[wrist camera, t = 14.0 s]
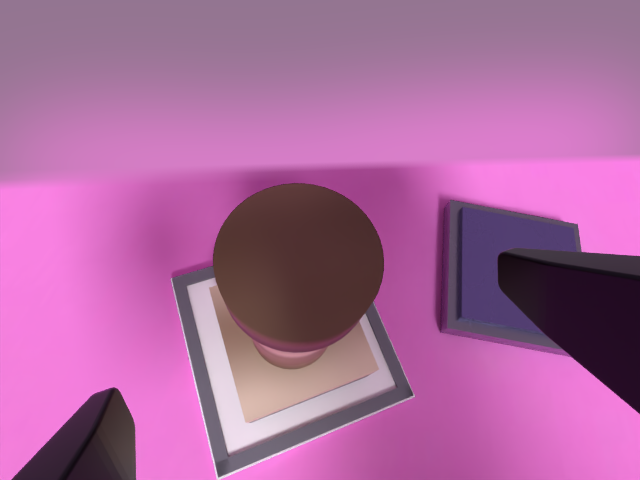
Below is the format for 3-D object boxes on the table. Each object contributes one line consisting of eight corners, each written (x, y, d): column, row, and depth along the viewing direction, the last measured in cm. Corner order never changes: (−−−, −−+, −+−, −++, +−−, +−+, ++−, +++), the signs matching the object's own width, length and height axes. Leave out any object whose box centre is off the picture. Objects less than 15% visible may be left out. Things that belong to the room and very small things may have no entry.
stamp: (365, 376, 20) (454, 325, 10) (250, 423, 19) (213, 419, 8) (323, 271, 22) (360, 140, 12) (218, 305, 21) (158, 190, 11)
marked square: (413, 397, 20) (416, 396, 20) (218, 479, 18) (216, 481, 17) (340, 229, 24) (341, 226, 23) (171, 280, 21) (169, 277, 21)
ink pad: (582, 358, 22) (601, 354, 20) (440, 332, 22) (450, 326, 20) (567, 231, 25) (582, 221, 24) (444, 208, 25) (452, 196, 24)
